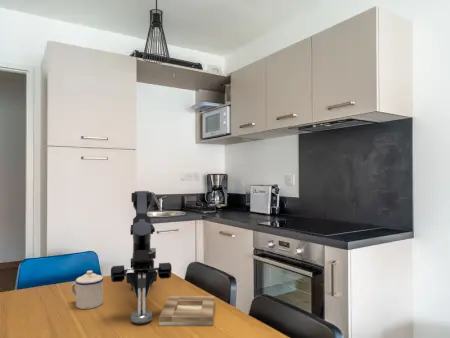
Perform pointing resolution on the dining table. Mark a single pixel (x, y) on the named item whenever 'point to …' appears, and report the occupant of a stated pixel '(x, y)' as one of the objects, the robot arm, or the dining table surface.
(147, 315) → the round base pedestal
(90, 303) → the teacup with lid
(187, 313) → the square wooden tray
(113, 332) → the dining table surface
